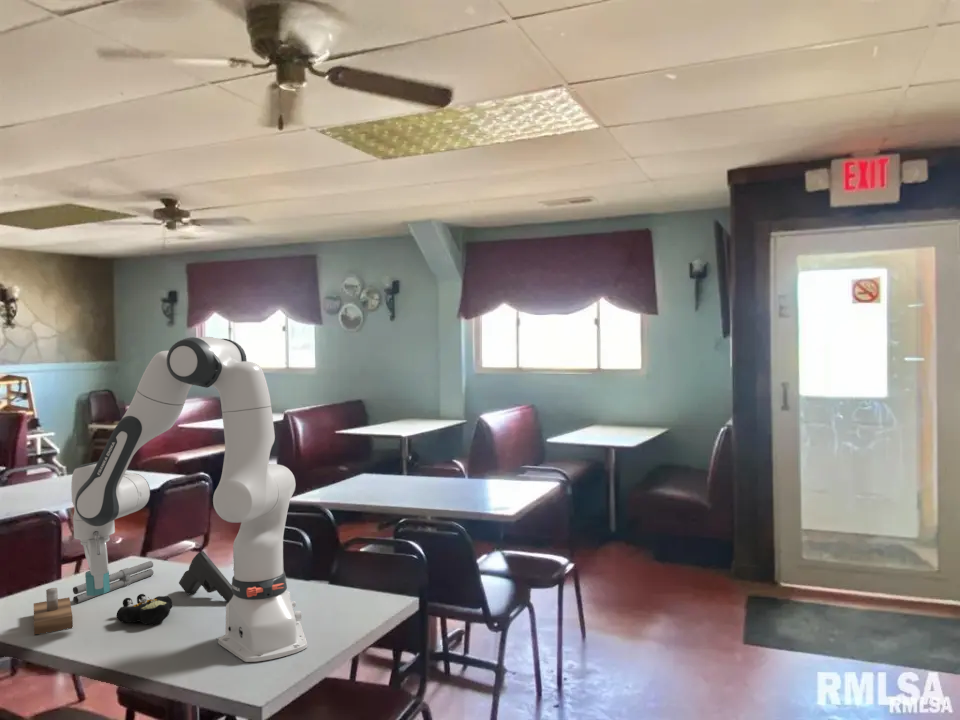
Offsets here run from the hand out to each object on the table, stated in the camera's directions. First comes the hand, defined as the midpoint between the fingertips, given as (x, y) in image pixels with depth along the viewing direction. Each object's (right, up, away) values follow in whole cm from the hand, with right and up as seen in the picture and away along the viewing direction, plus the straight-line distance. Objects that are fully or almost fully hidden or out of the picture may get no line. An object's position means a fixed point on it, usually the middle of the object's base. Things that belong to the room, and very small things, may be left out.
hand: (97, 584), depth 179 cm
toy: (+10, -10, +4) cm, 15 cm away
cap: (0, -2, 0) cm, 2 cm away
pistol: (+20, -10, +20) cm, 30 cm away
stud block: (-13, -10, +4) cm, 17 cm away
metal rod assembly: (-10, -10, +29) cm, 32 cm away
